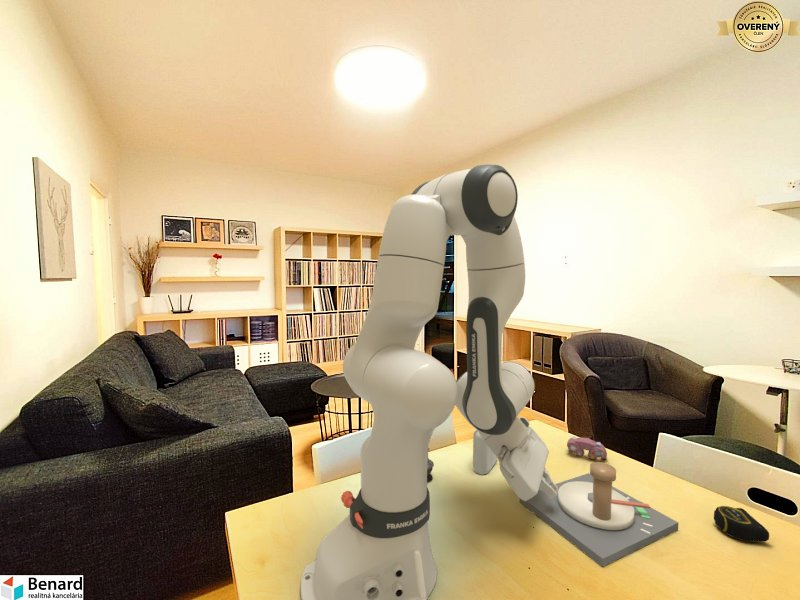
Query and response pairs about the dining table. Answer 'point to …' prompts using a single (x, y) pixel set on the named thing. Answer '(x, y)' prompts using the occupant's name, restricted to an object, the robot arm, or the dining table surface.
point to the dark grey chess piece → (429, 469)
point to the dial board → (601, 541)
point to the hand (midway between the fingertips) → (554, 494)
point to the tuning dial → (598, 500)
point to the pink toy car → (587, 448)
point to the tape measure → (739, 524)
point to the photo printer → (482, 455)
